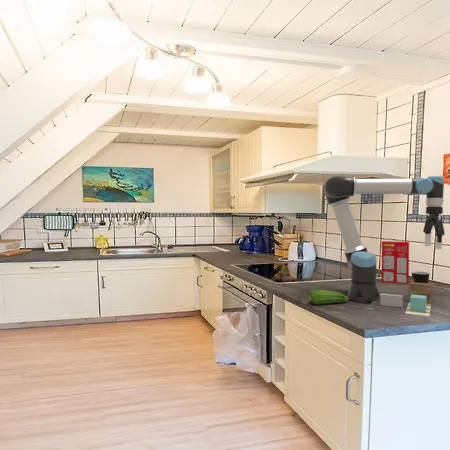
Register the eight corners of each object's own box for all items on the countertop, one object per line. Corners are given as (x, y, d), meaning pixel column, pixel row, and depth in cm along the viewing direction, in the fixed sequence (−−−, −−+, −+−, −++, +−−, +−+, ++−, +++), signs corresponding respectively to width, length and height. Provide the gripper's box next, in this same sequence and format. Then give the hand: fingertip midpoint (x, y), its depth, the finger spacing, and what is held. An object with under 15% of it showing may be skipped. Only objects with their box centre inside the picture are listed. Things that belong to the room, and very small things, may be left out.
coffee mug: (413, 288, 203) (413, 270, 203) (430, 290, 198) (430, 272, 197) (408, 292, 194) (408, 274, 194) (426, 294, 189) (426, 275, 188)
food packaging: (408, 282, 219) (408, 241, 218) (408, 284, 214) (409, 242, 213) (381, 280, 225) (382, 241, 224) (381, 282, 221) (381, 241, 219)
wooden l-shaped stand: (429, 318, 148) (429, 294, 148) (405, 315, 153) (405, 292, 153) (431, 304, 169) (431, 283, 168) (409, 302, 174) (409, 282, 173)
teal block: (425, 312, 153) (426, 298, 153) (410, 310, 157) (410, 297, 156) (426, 309, 159) (426, 295, 158) (411, 307, 162) (411, 294, 161)
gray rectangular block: (397, 320, 147) (398, 305, 147) (374, 317, 152) (374, 303, 152) (402, 308, 164) (402, 295, 164) (381, 305, 169) (381, 293, 169)
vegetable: (307, 286, 175) (345, 285, 178) (304, 298, 178) (342, 296, 181) (312, 296, 168) (352, 294, 172) (310, 308, 172) (349, 306, 175)
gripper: (453, 206, 171) (451, 250, 173) (432, 206, 196) (430, 245, 197) (436, 206, 173) (434, 250, 174) (417, 206, 197) (416, 244, 198)
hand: (432, 247), depth 185 cm, fingers open, 13 cm apart
